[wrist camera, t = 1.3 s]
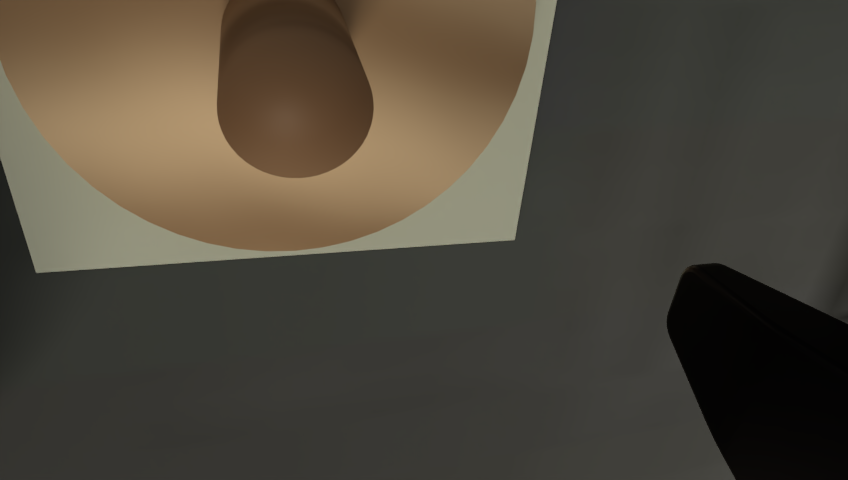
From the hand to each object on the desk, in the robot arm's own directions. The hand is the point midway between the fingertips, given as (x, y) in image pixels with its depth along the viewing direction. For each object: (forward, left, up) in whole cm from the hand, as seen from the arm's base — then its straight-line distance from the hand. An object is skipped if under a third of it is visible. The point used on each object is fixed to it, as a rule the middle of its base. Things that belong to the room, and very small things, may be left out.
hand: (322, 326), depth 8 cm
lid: (0, 0, -11) cm, 11 cm away
